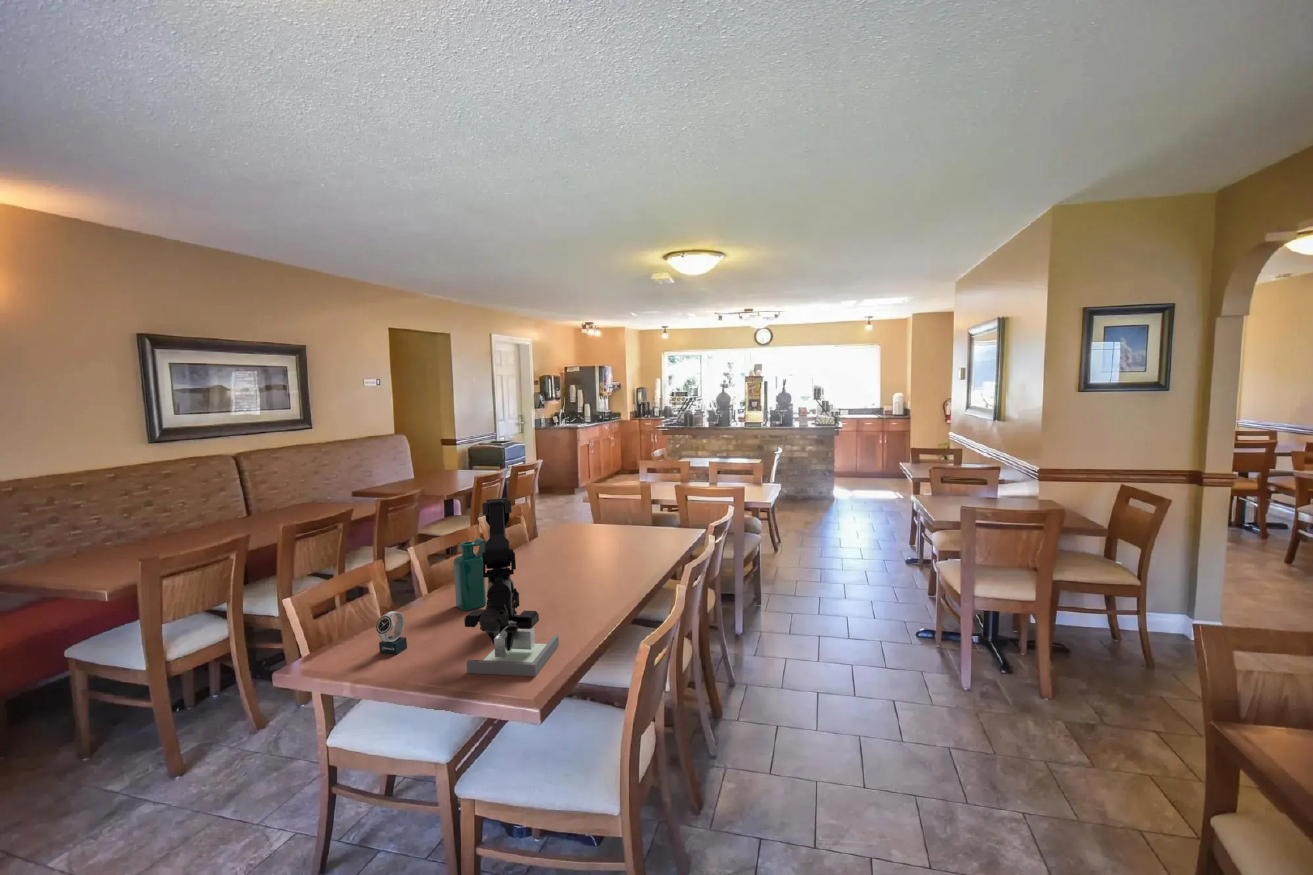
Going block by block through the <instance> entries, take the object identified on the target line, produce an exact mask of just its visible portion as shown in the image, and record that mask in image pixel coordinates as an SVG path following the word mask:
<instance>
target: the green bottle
mask: <svg viewBox="0 0 1313 875" xmlns="http://www.w3.org/2000/svg"><path fill="white" fill-rule="evenodd" d="M486 542H487V540H484V539H482V538H479V537H478V538H476V539H475V540H474V541H472V540H471V541H468V540H467V541H463V542H461V543H459V544H458V546H459V547H460V548H461V550H462V552H461V555H458V556H456V557H454V559H453V573H454V574H453V576H454V577H453V580H454V588H455V589H454V590H455V592H454V593H455V606H456V607H457V608H459V609H460V610H461V611H465V612H468V611H473V610H474V609H479V608H483V607H485V606H487V590H486V579H485V578H486V577H485V578H483V555H482V553H483V552H485V543H486ZM474 547H478V551H477V552H476V553H475V552H474Z"/></svg>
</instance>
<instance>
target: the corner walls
mask: <svg viewBox="0 0 1313 875" xmlns="http://www.w3.org/2000/svg"><path fill="white" fill-rule="evenodd" d="M559 641H560V640H559V635H558V634H554V635H553V636H552V637H551V638H550V639H549V641H548V642H547V643H546V644H547V645H546V646H545V647H544V649H543V650H542V651H541V652H540V654H539V655H538V656H537V657H536V659H535V660H534V661H533V662H513V661H490V660H484V659H468V660H466V661H465V662H466V673H467V674H478V675H497V676H498V675H500V676H501V675H503V676H504V675H505V676H518V677H519V676H521V677H537V676H538V674H539V672H541V670H543V667H544V666H545V665H546V664H547V662H548V661H549V660H550V658H551V657H552V655H553V654H554V653H555V651H556V650H557V649H558V648H559V645H560V642H559Z"/></svg>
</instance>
